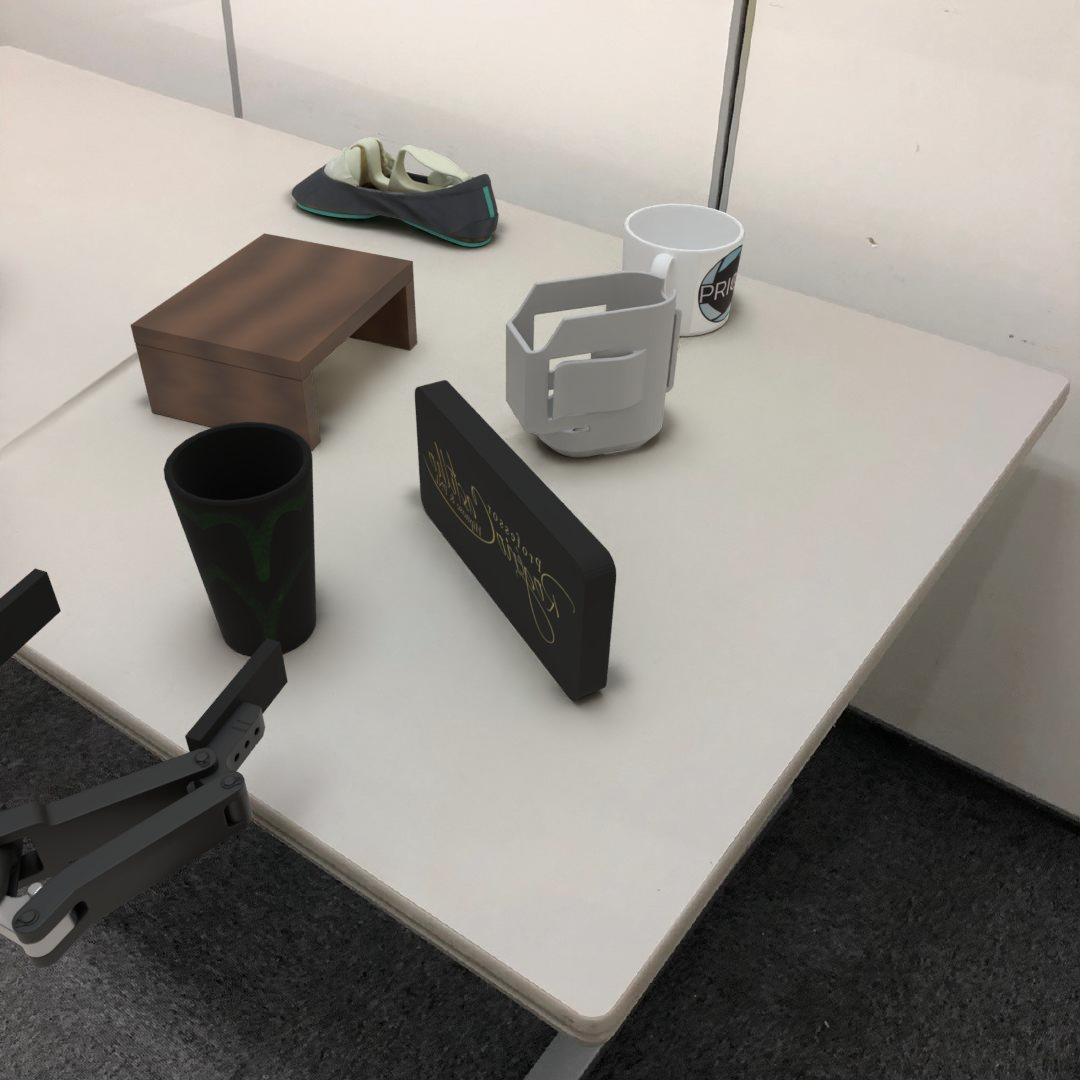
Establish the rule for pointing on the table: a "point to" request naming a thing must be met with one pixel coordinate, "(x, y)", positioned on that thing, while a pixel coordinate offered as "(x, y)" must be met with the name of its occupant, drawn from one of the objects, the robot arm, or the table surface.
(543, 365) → the cable organizer
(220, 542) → the cup
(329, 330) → the shelf
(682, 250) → the mug
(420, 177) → the ballet flat
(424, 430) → the nameplate
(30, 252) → the table surface
